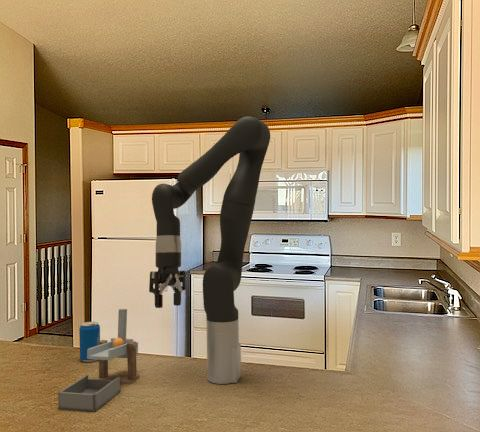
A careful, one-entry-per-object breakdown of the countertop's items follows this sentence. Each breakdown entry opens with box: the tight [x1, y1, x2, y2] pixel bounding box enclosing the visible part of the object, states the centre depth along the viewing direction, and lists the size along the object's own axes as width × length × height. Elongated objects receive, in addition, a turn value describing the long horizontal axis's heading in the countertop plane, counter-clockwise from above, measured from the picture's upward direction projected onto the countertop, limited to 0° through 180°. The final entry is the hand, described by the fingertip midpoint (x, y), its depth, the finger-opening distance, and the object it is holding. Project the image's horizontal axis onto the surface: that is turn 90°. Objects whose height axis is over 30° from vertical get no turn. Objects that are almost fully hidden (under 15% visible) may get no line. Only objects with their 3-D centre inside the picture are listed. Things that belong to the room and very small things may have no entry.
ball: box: [113, 337, 124, 348], centre depth 139 cm, size 3×3×3 cm
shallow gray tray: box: [57, 374, 121, 413], centre depth 123 cm, size 10×13×4 cm
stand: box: [97, 339, 140, 385], centre depth 138 cm, size 12×5×11 cm, turn 77°
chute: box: [87, 308, 139, 361], centre depth 137 cm, size 7×18×14 cm, turn 167°
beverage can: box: [79, 321, 101, 363], centre depth 157 cm, size 6×6×12 cm
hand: (168, 306), depth 140 cm, fingers open, 8 cm apart
